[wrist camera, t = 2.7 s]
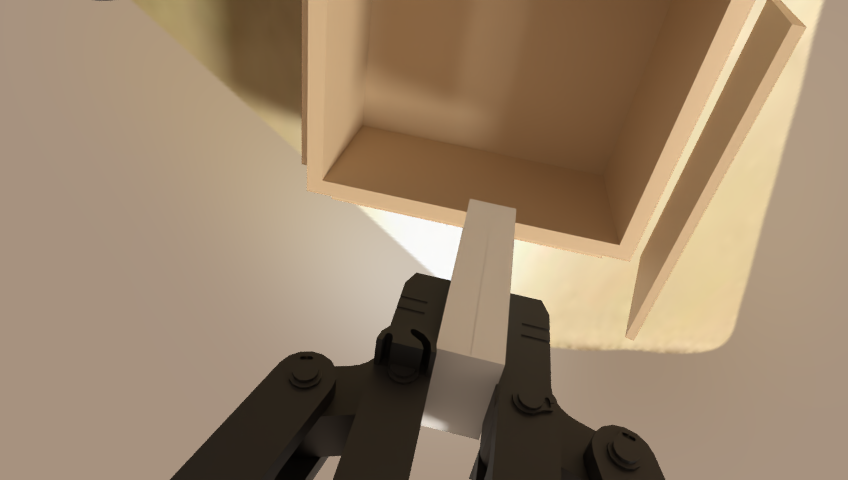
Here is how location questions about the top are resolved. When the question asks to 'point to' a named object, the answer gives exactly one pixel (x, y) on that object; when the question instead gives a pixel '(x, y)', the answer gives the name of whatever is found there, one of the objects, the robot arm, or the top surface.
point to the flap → (715, 151)
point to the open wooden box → (510, 107)
